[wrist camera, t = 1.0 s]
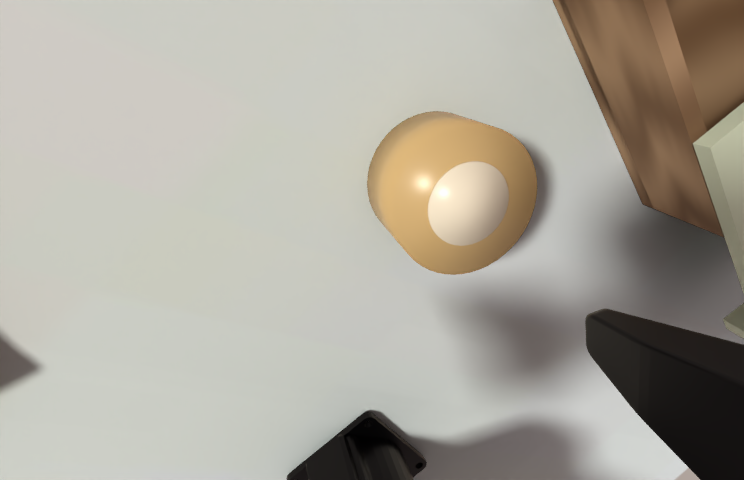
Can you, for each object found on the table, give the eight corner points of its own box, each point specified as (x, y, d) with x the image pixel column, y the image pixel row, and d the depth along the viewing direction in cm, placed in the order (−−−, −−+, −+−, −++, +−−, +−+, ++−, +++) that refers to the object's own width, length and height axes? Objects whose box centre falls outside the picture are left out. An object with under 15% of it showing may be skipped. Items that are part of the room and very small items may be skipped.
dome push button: (510, 183, 24) (561, 208, 20) (415, 263, 24) (449, 302, 21) (447, 81, 21) (493, 89, 17) (340, 173, 21) (363, 201, 18)
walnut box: (783, 90, 26) (893, 101, 22) (642, 204, 27) (723, 237, 22) (727, -178, 20) (870, -239, 15) (543, -22, 20) (630, -37, 16)
